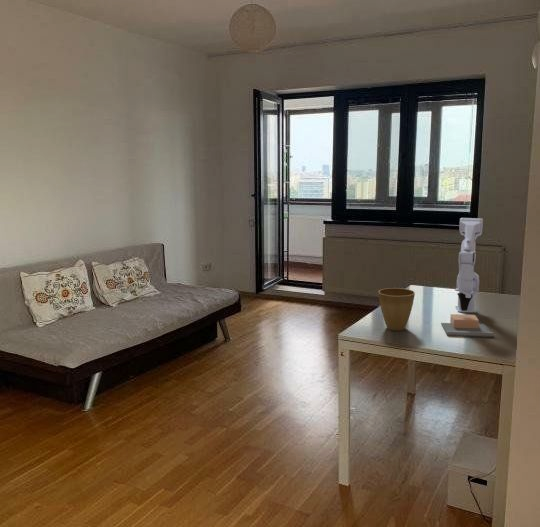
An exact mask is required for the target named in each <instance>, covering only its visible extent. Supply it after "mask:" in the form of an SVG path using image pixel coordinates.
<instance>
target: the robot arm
mask: <svg viewBox="0 0 540 527" xmlns="http://www.w3.org/2000/svg"><path fill="white" fill-rule="evenodd" d="M483 223H484V219H483V217H482V218H481V217H480V218H479V217H477V218H475V217H473V218H472V217H461V218H459V233H460V235H461V236H464V239H463V240H462V241H461V245H460V246H461V247H460V251H459V252H458V275H457V278H456V288H455V289H454V291H456V292H458V293H456V294H457V305H455V308H456V309H457V311H458V312H459V313H475V314H476V313H478V312H477V310H476V293H478V292H479V291H480V290H479V287H480V276H479V274H477V272H475V271H474V268H475V264H476V258H477V257H476V256H477V255H476V246H477V245H476V240H477V238H478V237H480V236H482V234H483V227H484V226H483V225H484V224H483Z"/></svg>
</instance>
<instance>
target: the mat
mask: <svg viewBox="0 0 540 527" xmlns="http://www.w3.org/2000/svg"><path fill="white" fill-rule="evenodd" d="M440 325H441V327H442V329H443V331H444V332H445V335H446V336H447V337H467V338H468V337H469V338H470V337H471V338H492V339H493V338H495V332H494V331H493V332H491V330H490V329H489V328H488V327H487V325H486V324H485V323H479V326H478V329H475V328H453V326H452V324H451V323H450V322H441V323H440Z"/></svg>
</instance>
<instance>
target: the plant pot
mask: <svg viewBox="0 0 540 527" xmlns="http://www.w3.org/2000/svg"><path fill="white" fill-rule="evenodd" d="M415 294H416V292H415V291H414V290H412V289H409V288H401V287H391V288H390V287H387V288H383V289H380V290H378V299H379V304H380V309H381V313H382V314H381V315H382V317H383V320H384V323H385V326H386V328H387V329H388V330H390V331H395V332H396V331H403V330H405V329H406V327H407V325H408V322H409V319H410V316H411V313H412V308H413V305H414V300H415Z"/></svg>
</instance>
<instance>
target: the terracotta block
mask: <svg viewBox="0 0 540 527" xmlns="http://www.w3.org/2000/svg"><path fill="white" fill-rule="evenodd" d="M449 321H450V322H449V323H451V324H452V326H453V328H475V329H478V326H479V324H480V323H479V322H480V320H479V319H478V317H477V316H476V315H475V314H459V313H457V314H455V313H450V320H449Z"/></svg>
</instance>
